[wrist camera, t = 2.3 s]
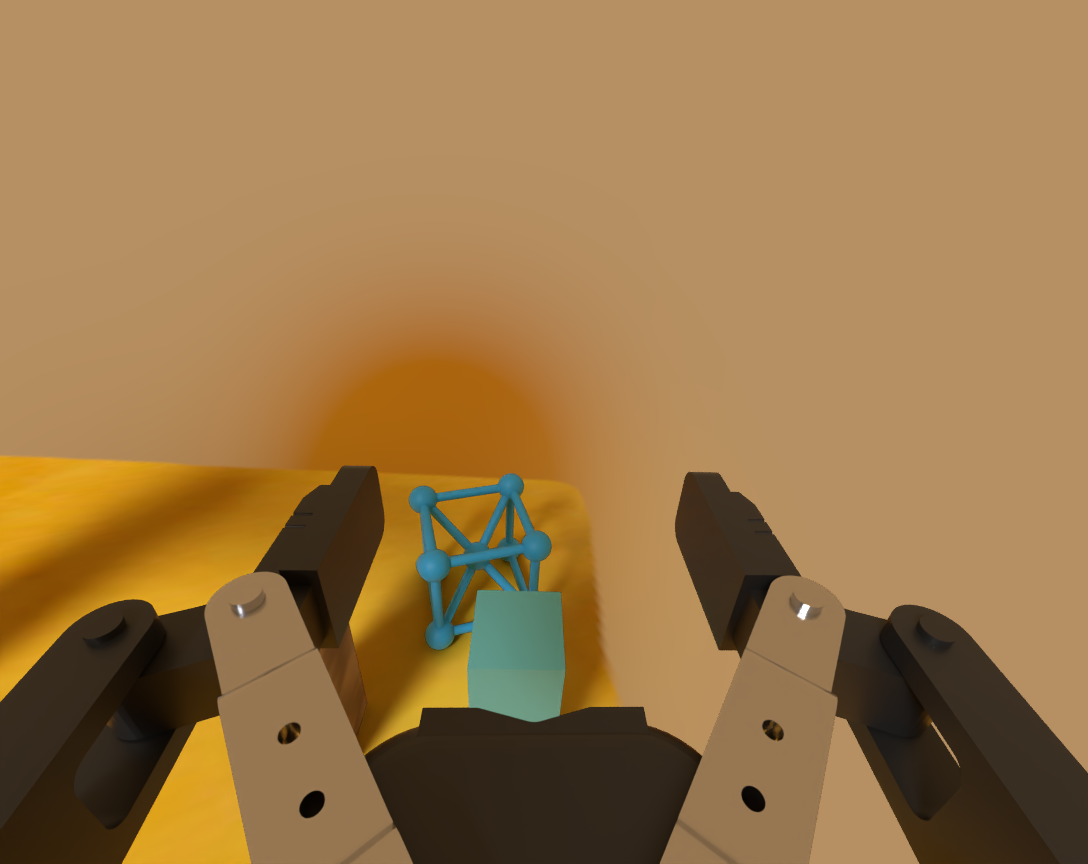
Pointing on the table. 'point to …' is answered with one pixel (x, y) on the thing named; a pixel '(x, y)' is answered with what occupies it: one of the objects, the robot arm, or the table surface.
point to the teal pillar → (517, 654)
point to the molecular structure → (474, 551)
